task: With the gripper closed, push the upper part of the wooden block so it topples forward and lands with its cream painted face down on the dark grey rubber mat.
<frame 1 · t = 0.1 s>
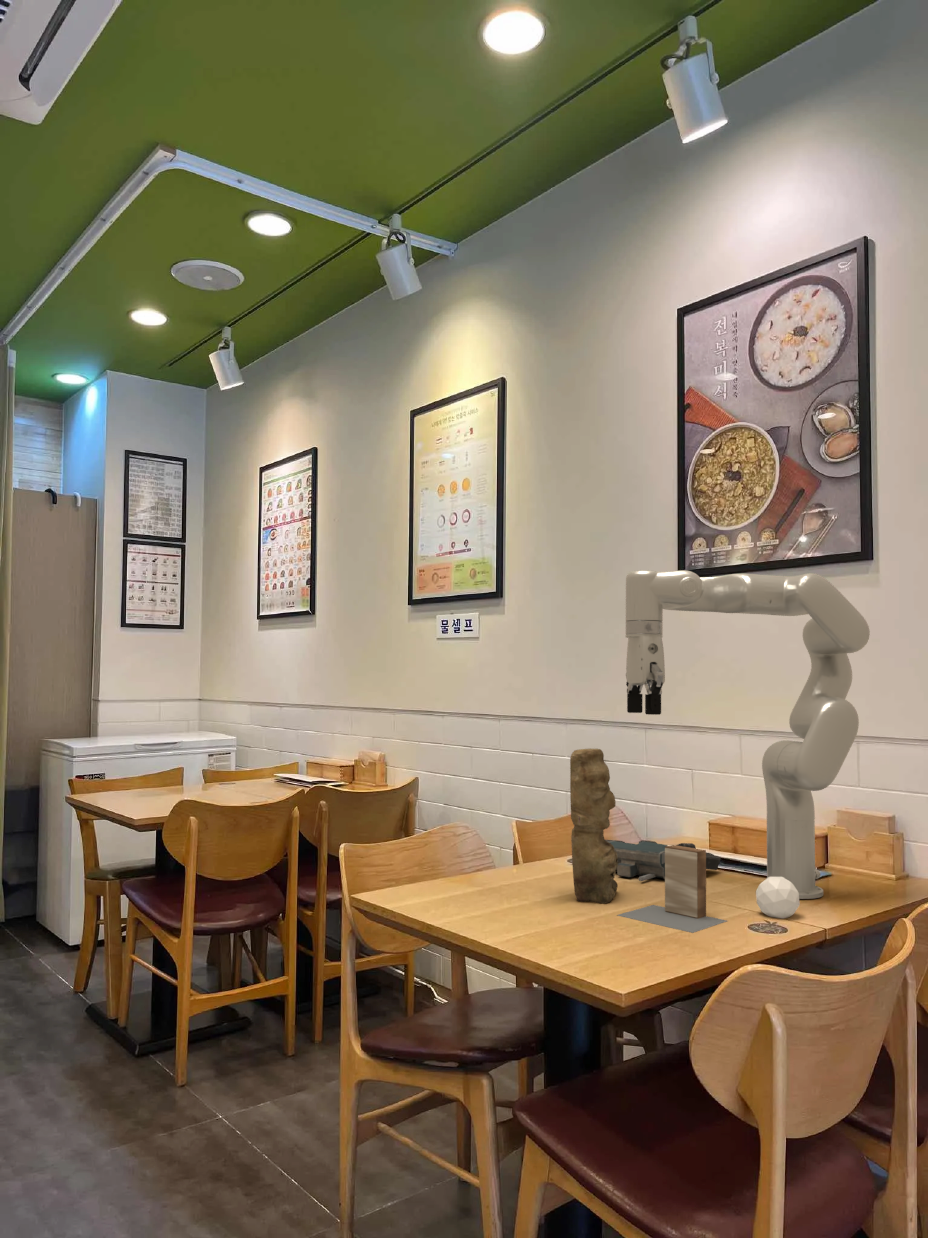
hand: (643, 713, 190), 37 cm above the table, tool pointing down, fingers open, 9 cm apart
wooden block: (685, 914, 172), point 1 cm above the table, touching mat
mat: (671, 921, 168), on the table
toy: (651, 873, 215), on the table
geometric ball: (777, 919, 172), on the table
sculpture: (593, 900, 185), on the table
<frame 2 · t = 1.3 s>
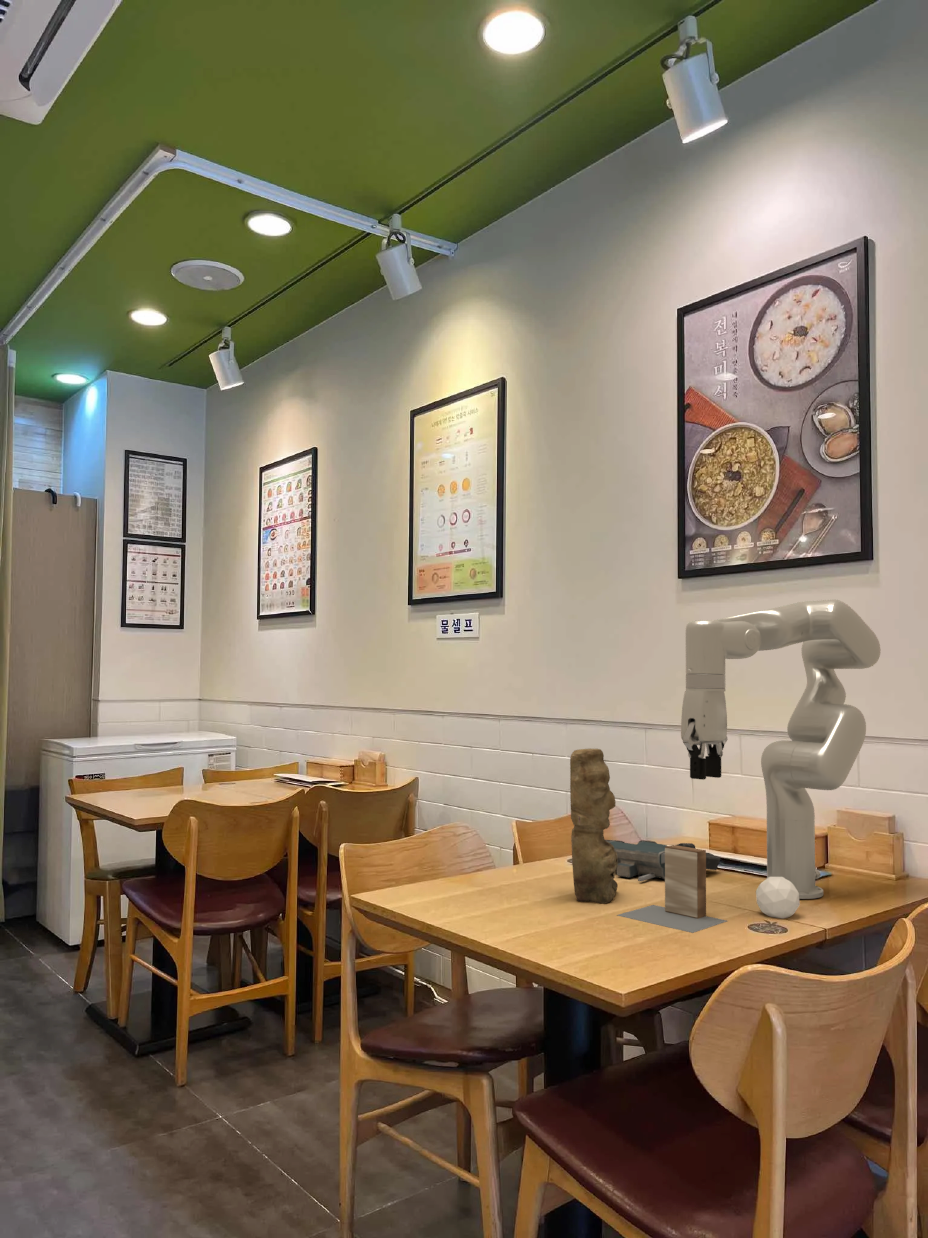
hand: (705, 777, 179), 25 cm above the table, tool pointing down, fingers open, 4 cm apart
nothing on the table moved.
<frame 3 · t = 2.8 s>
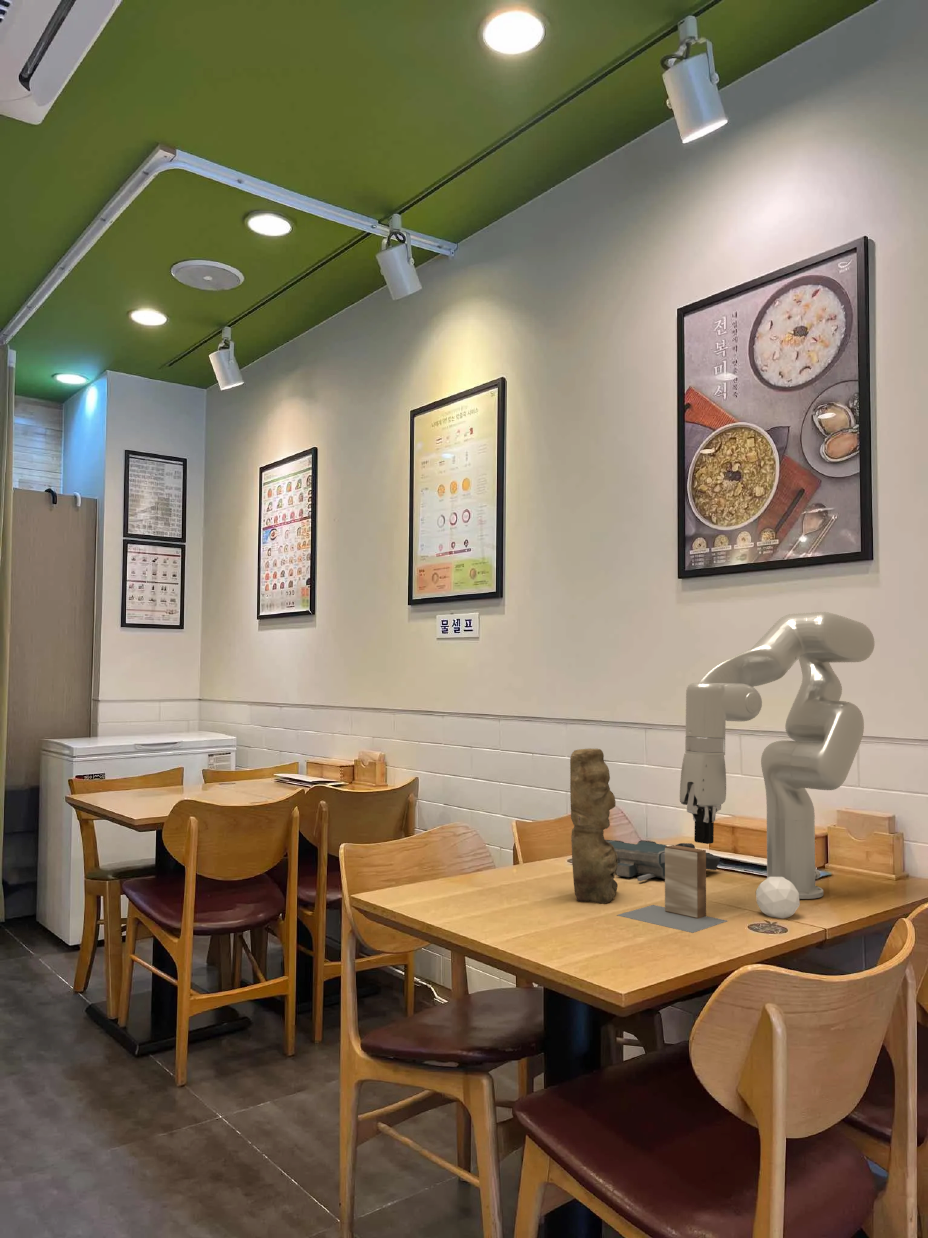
hand: (703, 842, 177), 13 cm above the table, tool pointing down, fingers closed
nothing on the table moved.
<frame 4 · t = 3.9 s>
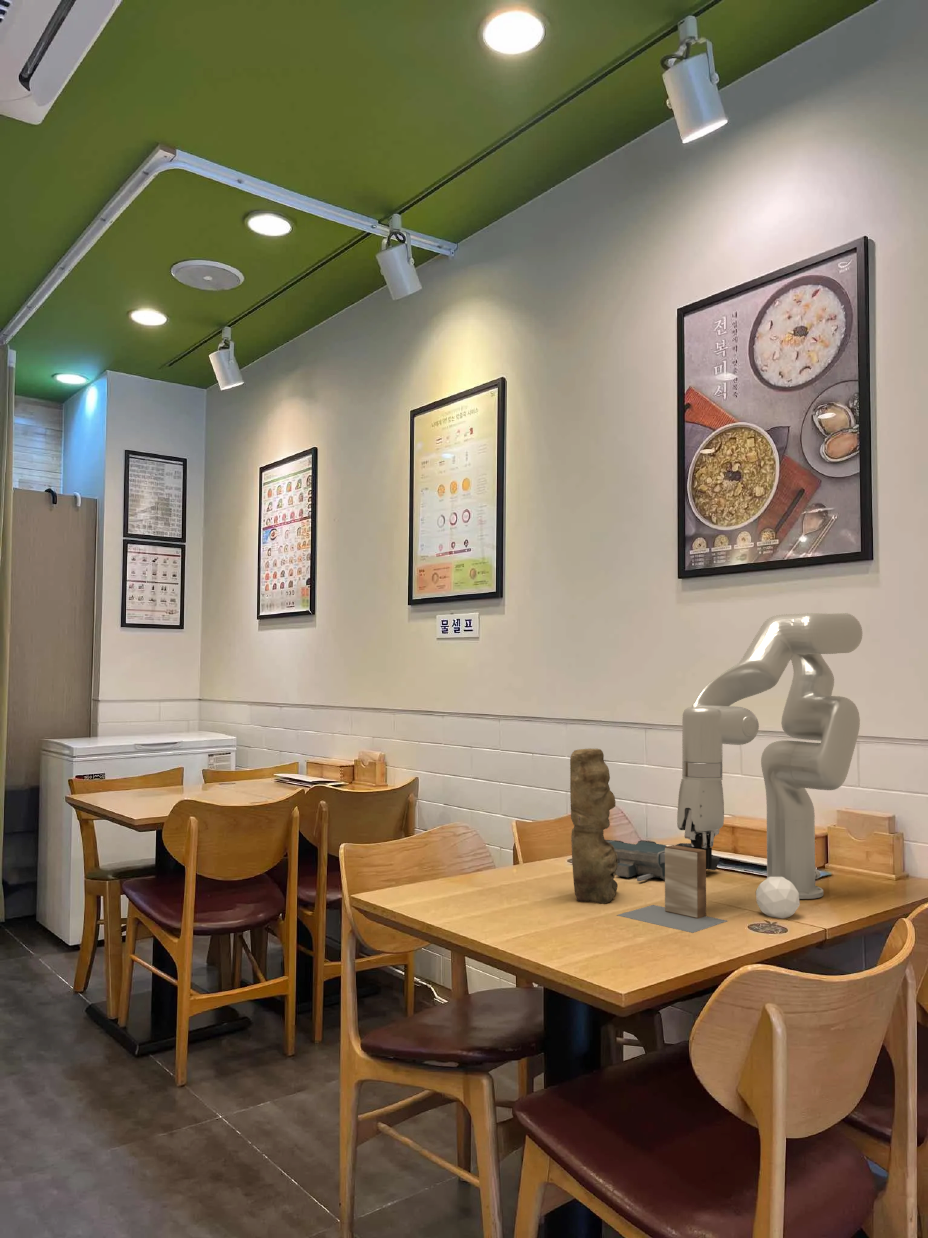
hand: (702, 868, 176), 8 cm above the table, tool pointing down, fingers closed
nothing on the table moved.
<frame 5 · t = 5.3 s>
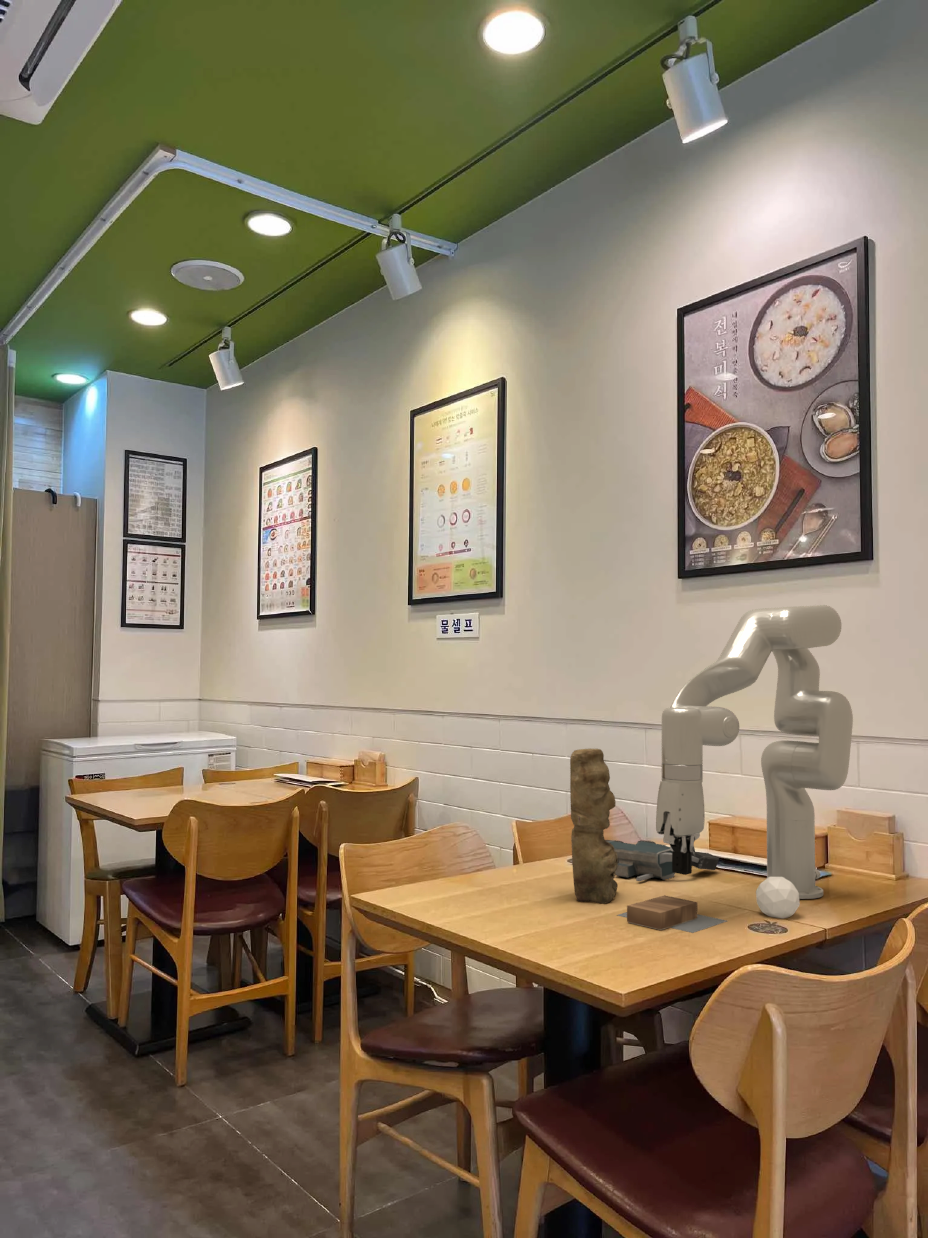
hand: (681, 873, 171), 8 cm above the table, tool pointing down, fingers closed
wooden block: (680, 907, 171), point 2 cm above the table, tilted 90°, touching mat
everything else where it was.
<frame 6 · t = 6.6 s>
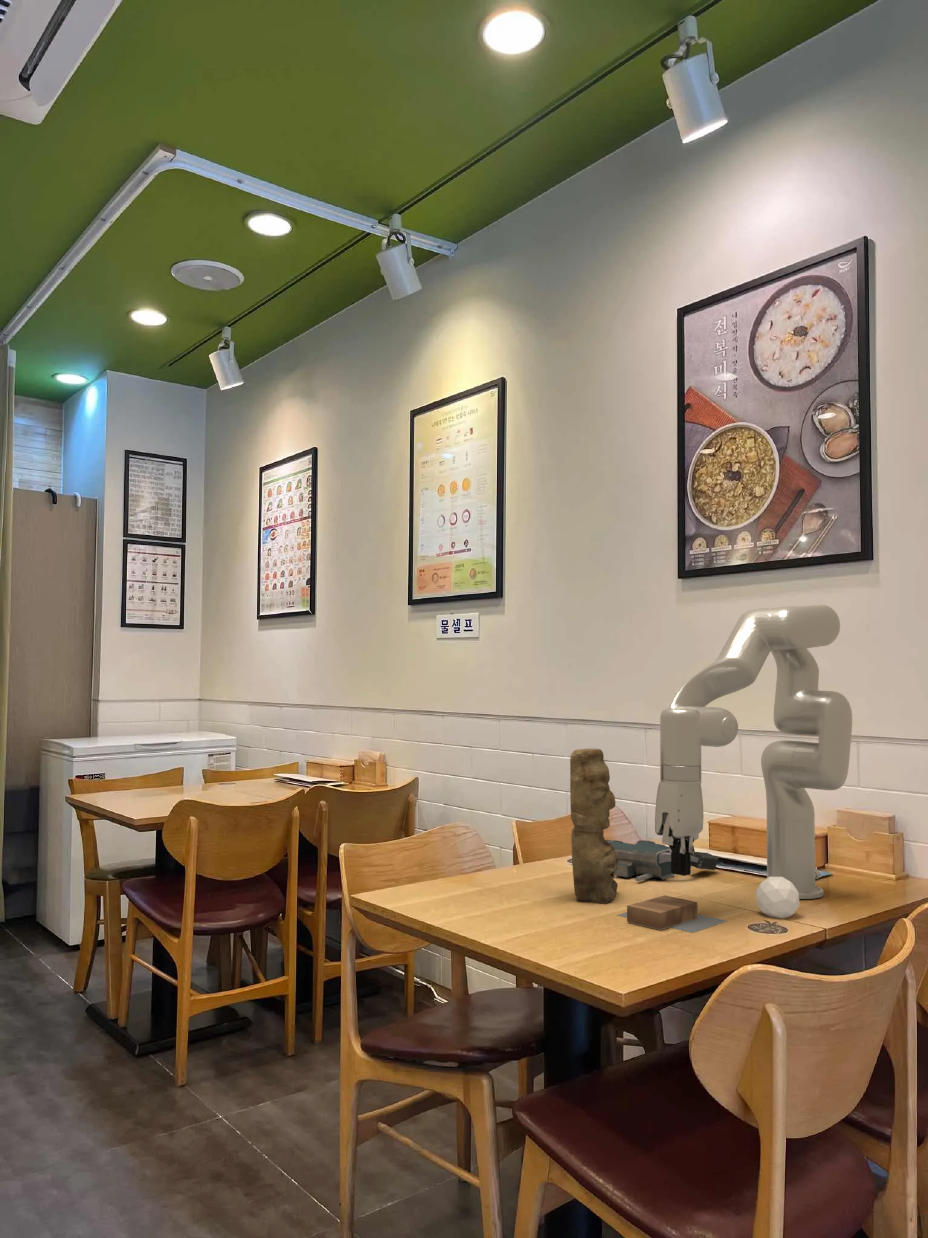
hand: (680, 874, 171), 8 cm above the table, tool pointing down, fingers closed
nothing on the table moved.
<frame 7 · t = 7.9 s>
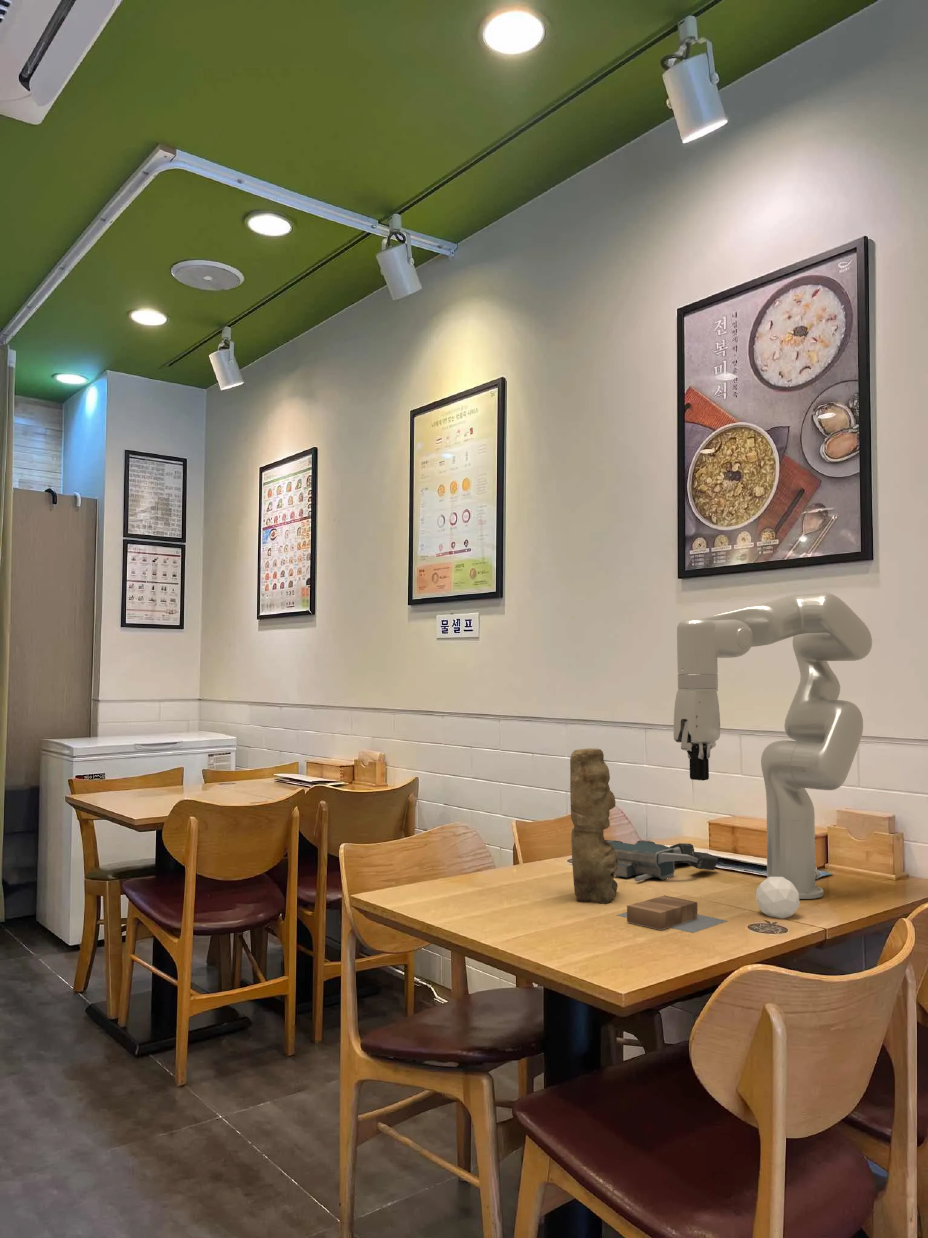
hand: (699, 779, 177), 25 cm above the table, tool pointing down, fingers closed
nothing on the table moved.
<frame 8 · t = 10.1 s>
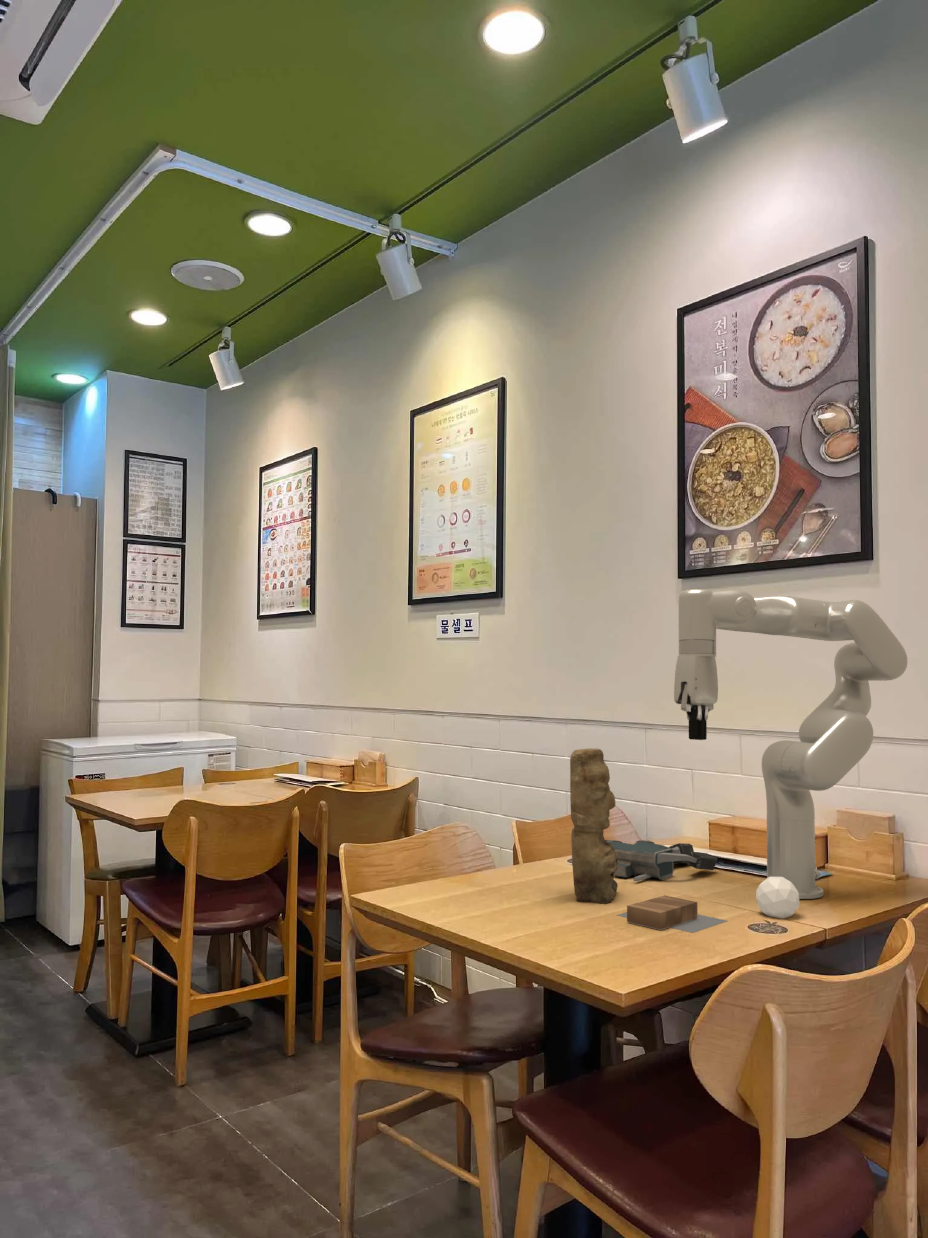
hand: (697, 739, 188), 32 cm above the table, tool pointing down, fingers closed
nothing on the table moved.
at the end: wooden block tilted 90°; wooden block inside the target area on the mat (3.0 cm from its centre), point 2.1 cm above the mat's base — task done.
